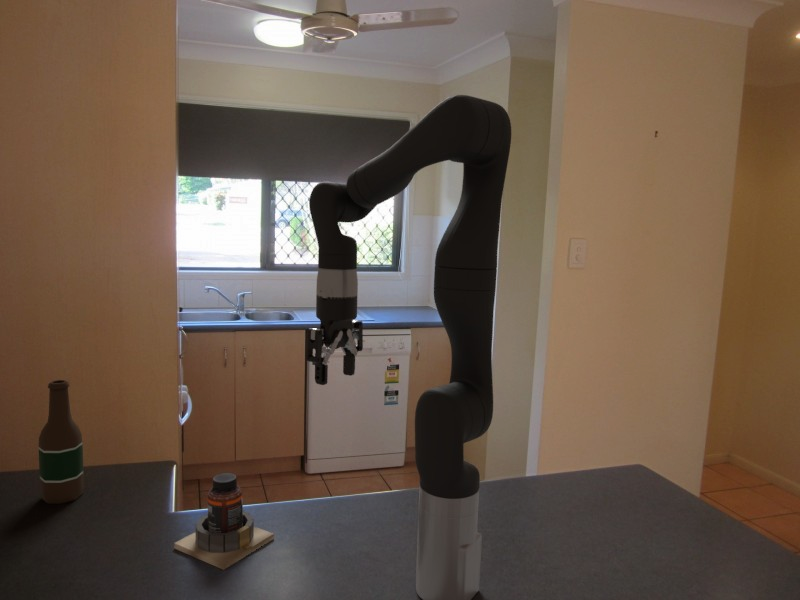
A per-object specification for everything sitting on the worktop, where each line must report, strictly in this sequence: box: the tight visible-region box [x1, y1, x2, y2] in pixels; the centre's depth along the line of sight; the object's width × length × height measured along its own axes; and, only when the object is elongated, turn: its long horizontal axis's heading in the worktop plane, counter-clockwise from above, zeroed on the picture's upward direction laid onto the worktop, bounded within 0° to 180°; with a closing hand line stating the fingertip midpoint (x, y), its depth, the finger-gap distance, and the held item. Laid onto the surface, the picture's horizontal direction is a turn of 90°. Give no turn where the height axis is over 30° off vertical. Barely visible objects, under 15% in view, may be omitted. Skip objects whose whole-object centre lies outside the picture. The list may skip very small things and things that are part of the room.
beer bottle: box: [38, 379, 85, 505], centre depth 123 cm, size 8×8×24 cm
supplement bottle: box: [207, 472, 244, 533], centre depth 108 cm, size 6×6×11 cm
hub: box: [173, 510, 275, 571], centre depth 108 cm, size 12×12×4 cm
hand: (335, 379), depth 114 cm, fingers open, 8 cm apart
